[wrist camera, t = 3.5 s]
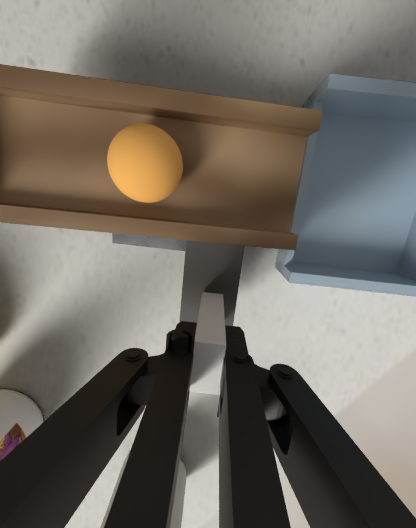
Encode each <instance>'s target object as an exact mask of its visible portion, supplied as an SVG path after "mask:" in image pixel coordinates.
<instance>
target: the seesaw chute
mask: <svg viewBox="0 0 416 528" xmlns="http://www.w3.org/2000/svg"><path fill="white" fill-rule="evenodd" d="M322 114H323V111H320V110H313V109H306V108H300V107H293V106H286V105H279V104H272V103H265V102H258V101H251V100H244V99H237V98H230V97H223V96H216V95H210V94H203V93H196V92H189V91H182V90H175V89H168V88H161V87H154V86H147V85H140V84H133V83H127V82H120V81H113V80H106V79H99V78H92V77H85V76H78V75H71V74H64V73H57V72H50V71H43V70H37V69H30V68H23V67H16V66H9V65H2V64H0V222H4V223H15V224H25V225H35V226H46V227H56V228H67V229H77V230H88V231H98V232H109V233H119V234H129V235H140V236H150V237H161V238H171V239H182V240H187V241H186V253H185V264H184V276H183V288H182V300H181V311H180V322H181V321H187V322H196V323H197V322H198V316H199V310H200V304H201V298H202V292H208V293H216V294H223V301H224V317H225V325H227V326H233V321H234V314H235V307H236V300H237V293H238V286H239V279H240V273H241V266H242V259H243V252H244V246H255V247H265V248H276V249H286V250H296V246H297V241H298V235H297V234H294V233H292V232H290V227H291V222H292V217H293V211H294V206H295V201H296V195H297V190H298V185H299V179H300V174H301V169H302V163H303V158H304V153H305V148H306V142H307V137H308V136H310V135H312V134H314V133H316V132H317V131H319V129H320V124H321V119H322ZM139 123H145V124H150V125H154V126H156V127H159V128H160V129H162V130H164V131H165V132H166V133H167V134H169V135H170V136H171V137H172V138H173V140H174V141H175V143H176V144H177V146H178V148H179V150H180V153H181V156H182V161H183V172H182V177H181V180H180V183H179V185H178V186H177V188H176V189H175V191H174V192H173V193H172V194H171V195H169V196H168V197H167V198H165V199H163V200H160V201H157V202H152V203H145V202H140V201H136V200H134V199H131V198H130V197H128V196H126V195H125V194H124V193H122V192H121V191H120V190H119V189H118V187H117V186H116V185H115V183H114V182H113V180H112V178H111V176H110V173H109V170H108V165H107V154H108V149H109V146H110V143H111V141H112V140H113V138H114V137H115V136H116V134H117V133H118V132H119V131H121V130H122V129H124V128H125V127H127V126H130V125H133V124H139Z"/></svg>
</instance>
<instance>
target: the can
mask: <svg viewBox="0 0 416 528" xmlns="http://www.w3.org/2000/svg"><path fill="white" fill-rule="evenodd" d="M128 457H129V456H128ZM128 457H127V458H126V459H125V461H124V463H123V466H122V469H121V471H120V474H119V477H118V480H117V483H116V486H115V488H114V491H113V494H112V497H111V500H110V502H109V505H108V508H107V511H106V514H105V516H104V519H103V522H102V525H101V528H104V526H105V523H106V520H107V517H108V514H109V511H110V509H111V506H112V503H113V500H114V497H115V494H116V491H117V489H118V486H119V483H120V480H121V477H122V474H123V471H124V468H125V466H126V463H127V460H128ZM186 472H187V471H186V469H185V466H184V464H183V462H182V461H181V460H180V462H179V469H178V476H177V483H176V490H175V497H174V504H173V511H172V518H171V524H170V528H181V522H182V513H183V504H184V495H185V485H186Z"/></svg>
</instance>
